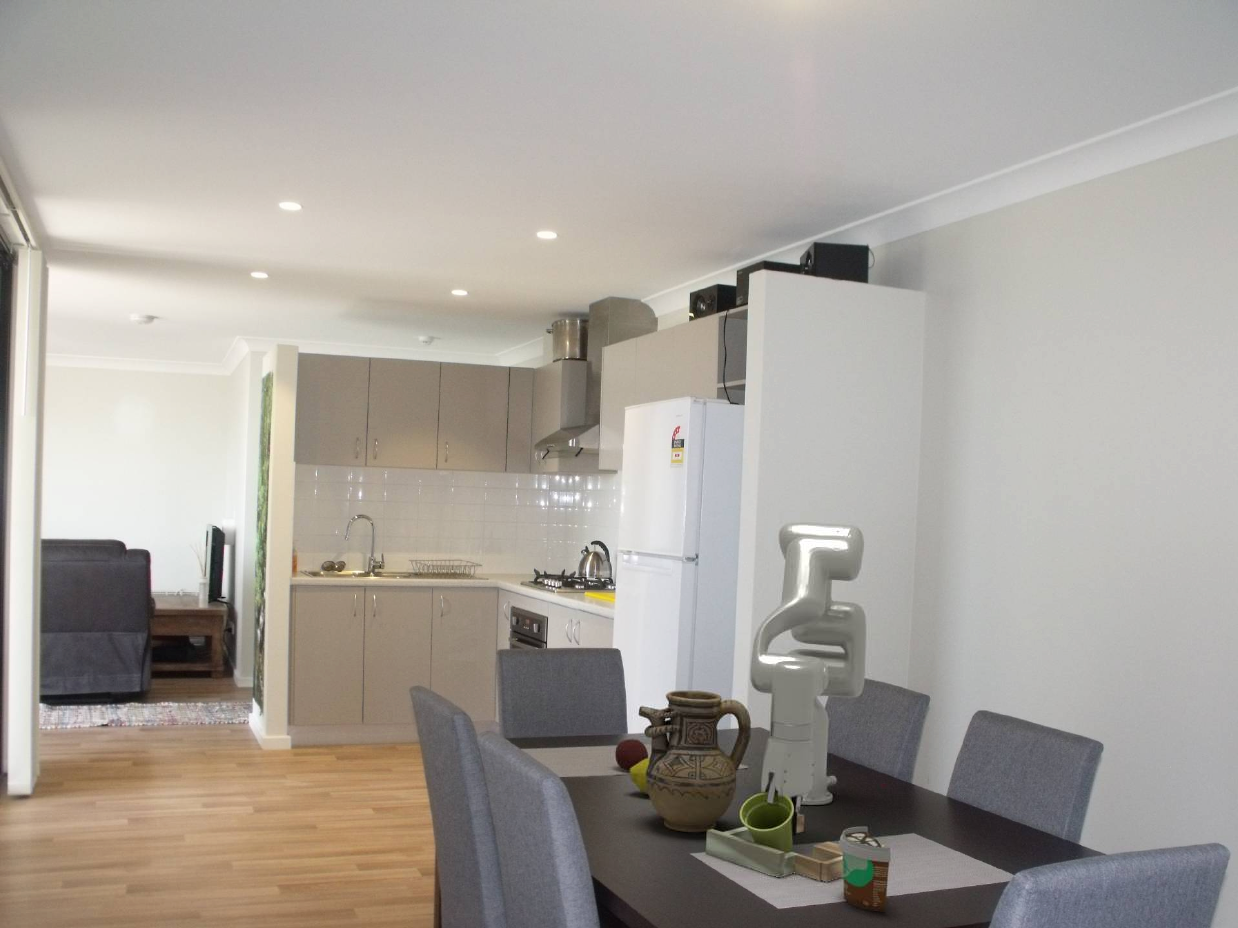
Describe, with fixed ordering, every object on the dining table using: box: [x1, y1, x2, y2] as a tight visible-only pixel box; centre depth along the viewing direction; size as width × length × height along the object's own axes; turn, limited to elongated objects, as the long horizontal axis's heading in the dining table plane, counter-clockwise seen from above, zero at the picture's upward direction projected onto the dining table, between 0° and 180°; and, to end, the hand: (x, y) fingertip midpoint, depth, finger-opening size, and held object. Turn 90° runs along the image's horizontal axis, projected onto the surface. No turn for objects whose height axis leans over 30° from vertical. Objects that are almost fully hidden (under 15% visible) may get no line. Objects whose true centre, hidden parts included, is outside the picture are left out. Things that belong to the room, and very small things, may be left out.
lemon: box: [629, 757, 650, 795], centre depth 236 cm, size 11×8×8 cm
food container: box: [838, 826, 891, 912], centre depth 177 cm, size 12×6×10 cm, turn 5°
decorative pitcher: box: [638, 690, 752, 834], centre depth 214 cm, size 22×18×25 cm
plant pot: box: [739, 792, 794, 854], centre depth 196 cm, size 9×9×9 cm
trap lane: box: [705, 813, 886, 882], centre depth 199 cm, size 26×22×4 cm
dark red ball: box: [614, 738, 649, 772], centre depth 258 cm, size 7×8×7 cm
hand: (786, 833), depth 200 cm, fingers closed
